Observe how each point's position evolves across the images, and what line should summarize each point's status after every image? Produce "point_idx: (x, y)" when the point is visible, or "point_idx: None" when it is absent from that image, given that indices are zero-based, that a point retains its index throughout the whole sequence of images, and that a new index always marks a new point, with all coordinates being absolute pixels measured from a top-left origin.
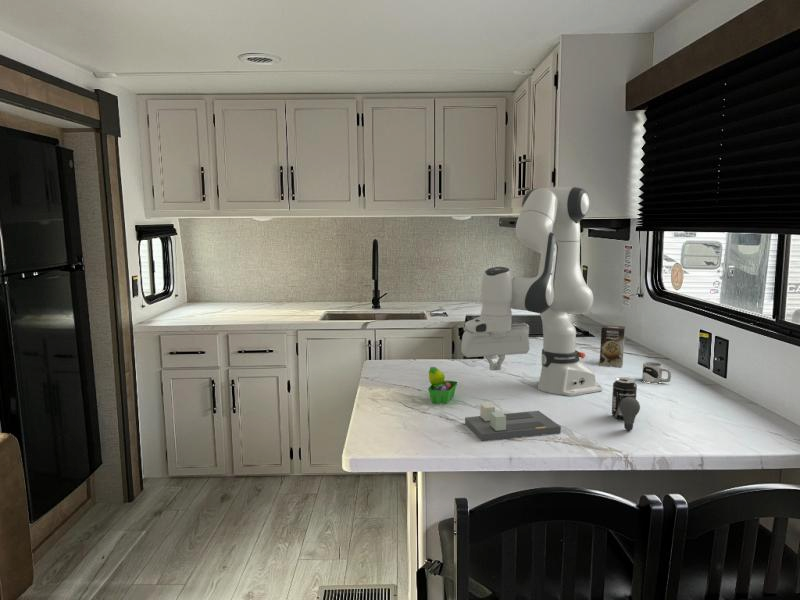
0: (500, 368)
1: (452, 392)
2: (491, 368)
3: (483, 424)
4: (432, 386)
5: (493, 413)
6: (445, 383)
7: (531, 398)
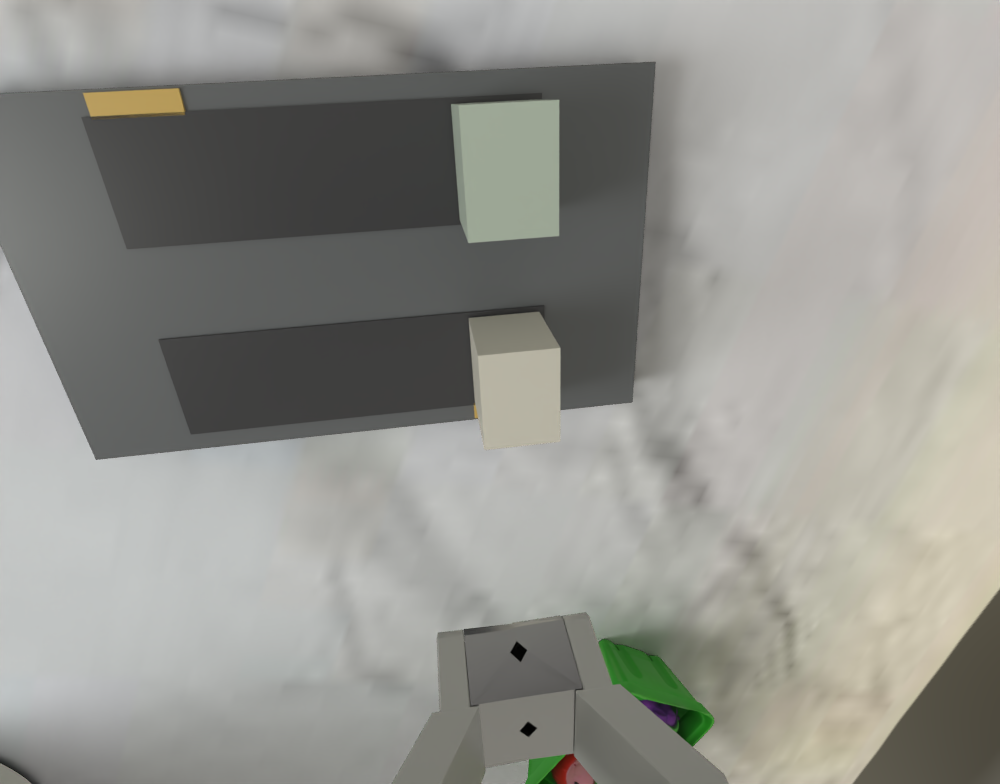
0: (445, 644)
1: None
2: (592, 638)
3: (568, 261)
4: None
5: (545, 206)
6: None
7: (113, 693)
